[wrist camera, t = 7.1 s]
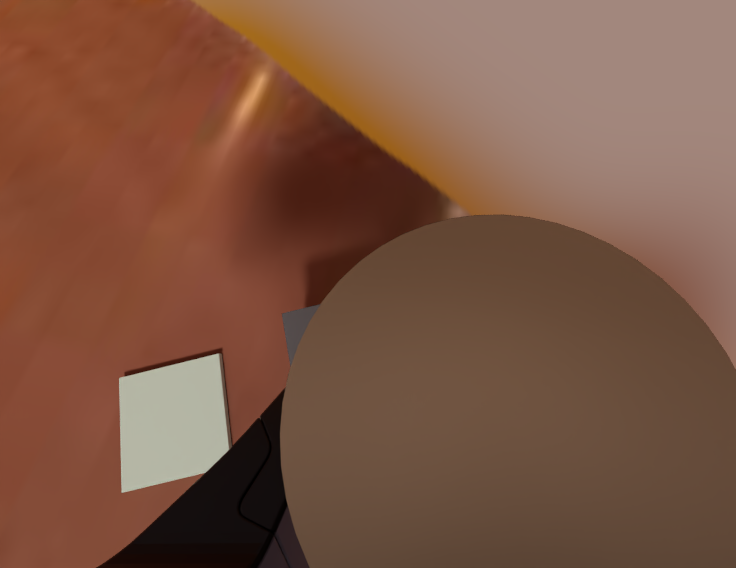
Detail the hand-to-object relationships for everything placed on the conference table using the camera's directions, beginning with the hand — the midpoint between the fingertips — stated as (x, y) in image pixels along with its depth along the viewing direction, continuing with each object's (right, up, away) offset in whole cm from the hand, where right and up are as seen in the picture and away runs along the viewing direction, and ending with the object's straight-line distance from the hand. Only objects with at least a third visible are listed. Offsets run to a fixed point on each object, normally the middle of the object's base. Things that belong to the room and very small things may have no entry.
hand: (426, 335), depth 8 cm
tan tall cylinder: (+1, -3, +6) cm, 6 cm away
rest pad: (-14, -8, +13) cm, 21 cm away
